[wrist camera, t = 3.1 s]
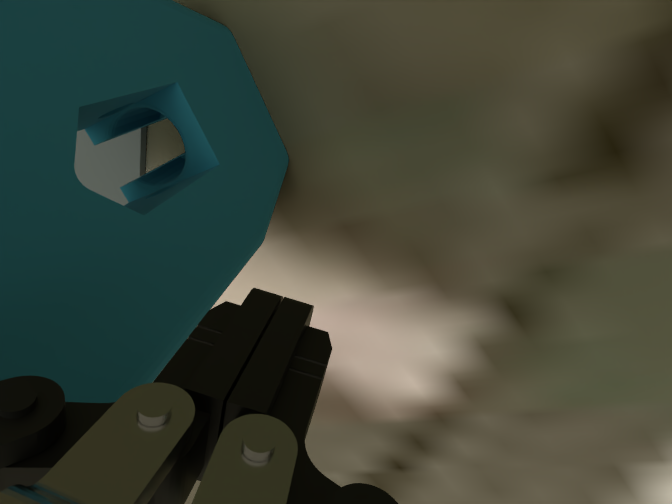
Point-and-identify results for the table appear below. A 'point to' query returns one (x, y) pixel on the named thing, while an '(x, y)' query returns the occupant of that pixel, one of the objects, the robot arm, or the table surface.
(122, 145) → the mat
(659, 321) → the table surface
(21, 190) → the block
